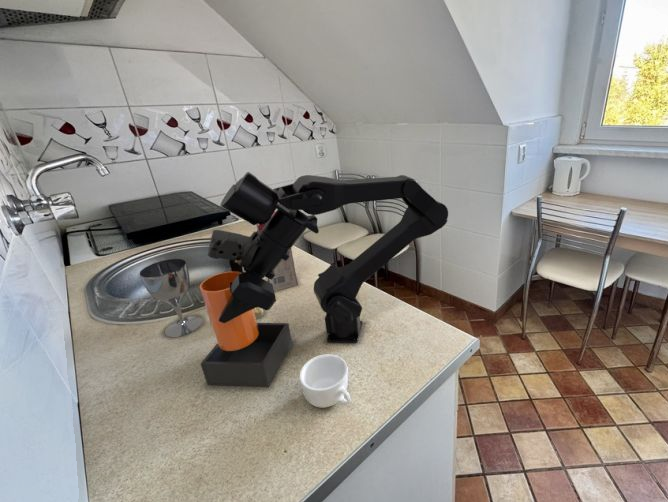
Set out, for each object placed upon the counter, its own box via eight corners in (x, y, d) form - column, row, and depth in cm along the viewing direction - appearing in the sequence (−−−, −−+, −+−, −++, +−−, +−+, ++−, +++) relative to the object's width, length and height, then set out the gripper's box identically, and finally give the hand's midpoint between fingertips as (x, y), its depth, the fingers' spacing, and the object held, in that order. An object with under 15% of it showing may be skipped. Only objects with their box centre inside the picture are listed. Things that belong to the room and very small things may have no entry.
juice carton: (272, 291, 85) (255, 212, 76) (268, 280, 90) (252, 205, 81) (297, 284, 88) (284, 208, 79) (292, 274, 93) (279, 201, 84)
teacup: (294, 397, 54) (289, 373, 52) (330, 370, 60) (327, 347, 58) (332, 433, 48) (328, 407, 46) (368, 398, 54) (366, 374, 52)
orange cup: (265, 325, 61) (251, 271, 57) (247, 351, 55) (231, 292, 51) (231, 325, 62) (215, 271, 57) (210, 350, 56) (190, 292, 51)
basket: (292, 342, 67) (288, 323, 65) (269, 387, 56) (263, 365, 55) (240, 341, 67) (234, 322, 65) (207, 385, 57) (200, 363, 55)
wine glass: (183, 313, 77) (164, 257, 71) (212, 317, 75) (194, 260, 69) (153, 336, 69) (129, 275, 64) (184, 340, 68) (162, 279, 62)
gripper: (231, 198, 59) (179, 266, 59) (234, 232, 43) (162, 324, 43) (284, 230, 65) (236, 291, 65) (302, 269, 50) (240, 349, 50)
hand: (221, 310), depth 55 cm, fingers closed on orange cup, 7 cm apart
